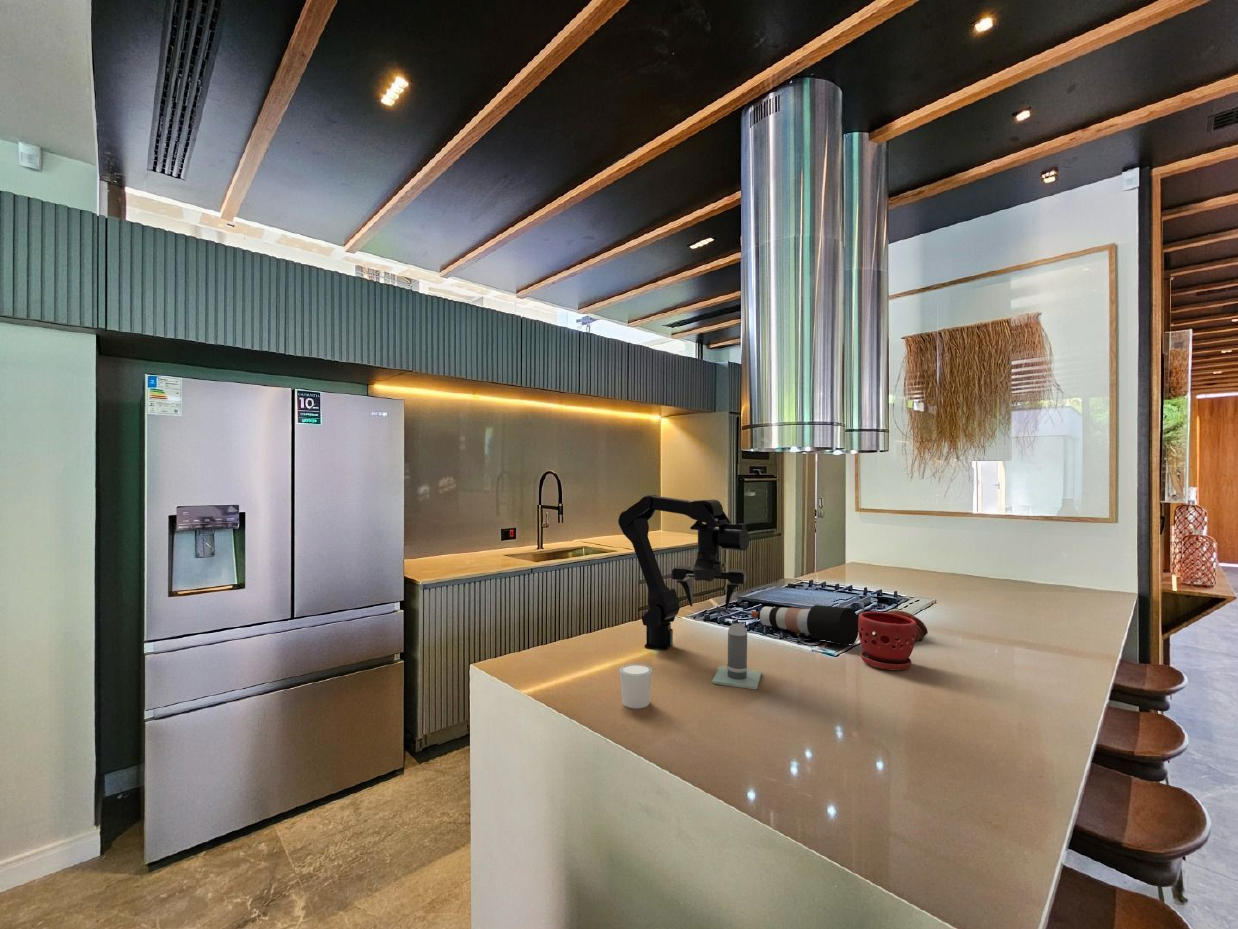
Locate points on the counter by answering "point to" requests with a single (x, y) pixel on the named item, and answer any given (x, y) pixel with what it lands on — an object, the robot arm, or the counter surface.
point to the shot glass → (635, 685)
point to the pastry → (920, 626)
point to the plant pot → (886, 639)
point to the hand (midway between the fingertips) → (708, 607)
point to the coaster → (748, 682)
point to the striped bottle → (814, 622)
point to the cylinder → (737, 652)
